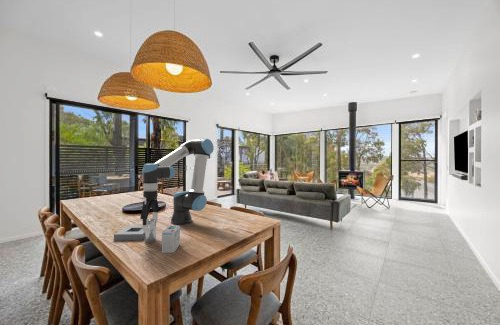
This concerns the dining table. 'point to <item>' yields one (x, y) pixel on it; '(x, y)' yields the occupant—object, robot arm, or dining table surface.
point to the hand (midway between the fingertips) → (150, 226)
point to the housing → (130, 233)
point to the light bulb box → (170, 239)
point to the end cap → (151, 231)
